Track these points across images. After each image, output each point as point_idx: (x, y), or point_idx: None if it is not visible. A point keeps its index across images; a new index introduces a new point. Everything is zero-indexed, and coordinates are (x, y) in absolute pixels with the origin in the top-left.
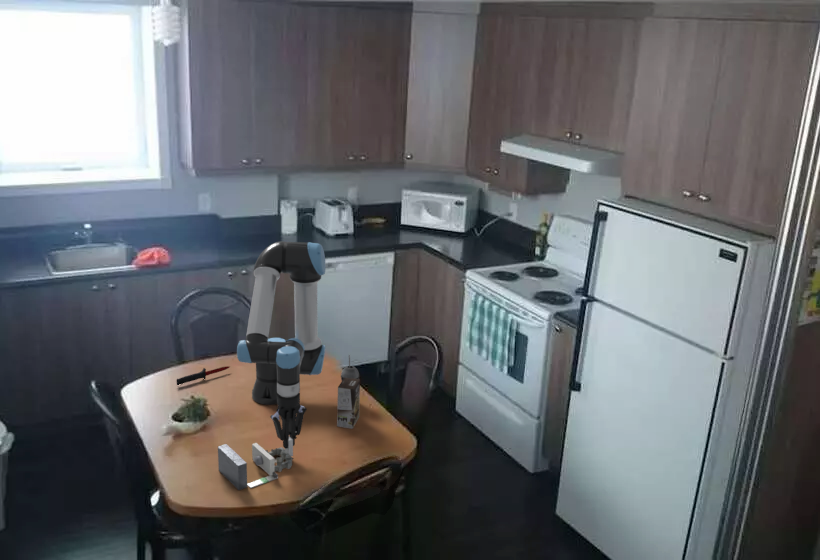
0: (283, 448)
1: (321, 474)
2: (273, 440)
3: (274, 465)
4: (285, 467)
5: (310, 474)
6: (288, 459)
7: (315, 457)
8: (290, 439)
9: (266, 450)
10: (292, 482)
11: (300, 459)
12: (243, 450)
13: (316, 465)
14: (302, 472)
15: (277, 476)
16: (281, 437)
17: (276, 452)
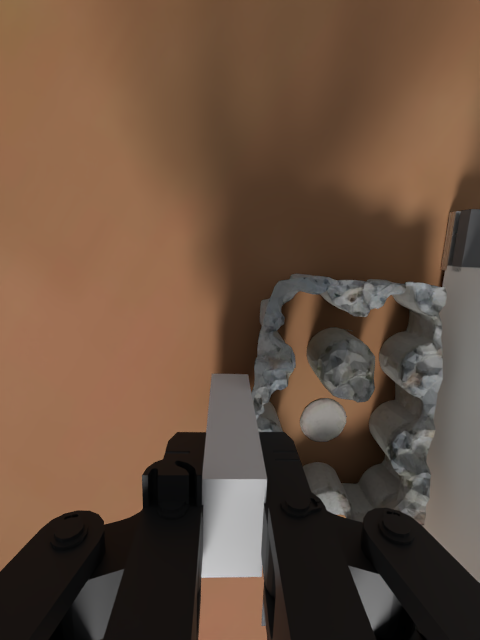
0: None
1: (138, 17)
2: None
3: (403, 346)
4: (324, 298)
5: (218, 86)
6: (281, 340)
7: (47, 285)
8: (235, 489)
9: None
10: (404, 82)
11: (164, 331)
12: None
13: (101, 176)
14: (255, 160)
15: (466, 210)
16: (441, 562)
17: None
